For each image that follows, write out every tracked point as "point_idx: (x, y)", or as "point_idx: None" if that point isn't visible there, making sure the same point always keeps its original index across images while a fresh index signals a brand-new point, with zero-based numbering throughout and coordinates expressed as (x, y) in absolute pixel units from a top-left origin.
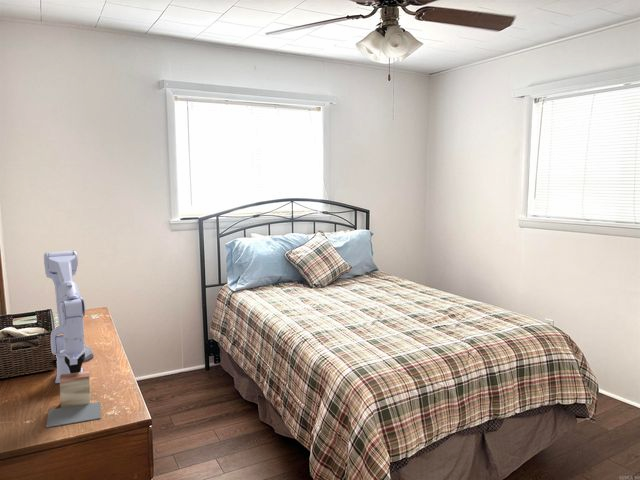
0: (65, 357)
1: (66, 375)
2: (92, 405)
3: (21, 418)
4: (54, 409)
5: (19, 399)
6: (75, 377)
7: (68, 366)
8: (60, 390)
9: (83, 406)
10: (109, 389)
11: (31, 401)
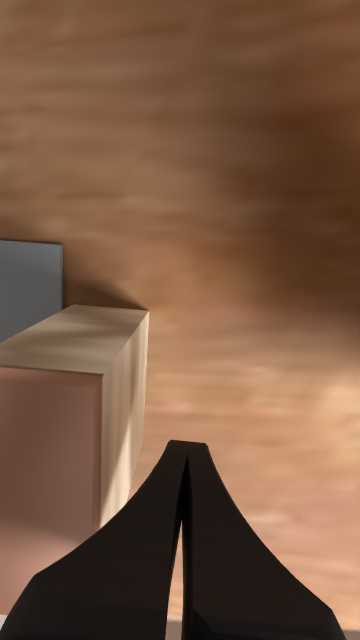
0: (217, 635)
1: (44, 444)
2: None
3: (18, 83)
4: (54, 271)
5: (313, 38)
6: None
7: (95, 533)
8: (13, 339)
9: None
10: None
11: (239, 129)
